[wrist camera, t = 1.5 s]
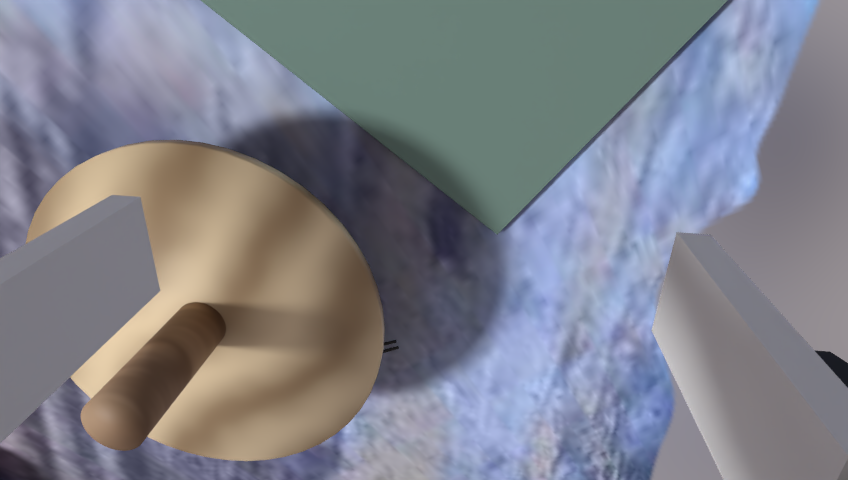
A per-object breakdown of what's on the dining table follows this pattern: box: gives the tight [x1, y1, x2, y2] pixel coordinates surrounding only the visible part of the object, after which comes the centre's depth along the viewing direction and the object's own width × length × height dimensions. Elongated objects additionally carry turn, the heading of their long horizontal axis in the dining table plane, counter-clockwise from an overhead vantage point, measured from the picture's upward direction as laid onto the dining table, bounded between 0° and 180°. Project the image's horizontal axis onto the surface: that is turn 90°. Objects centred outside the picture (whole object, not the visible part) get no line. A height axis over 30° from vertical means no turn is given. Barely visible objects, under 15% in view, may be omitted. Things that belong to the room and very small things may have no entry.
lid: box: [26, 140, 385, 461], centre depth 34 cm, size 26×26×11 cm
